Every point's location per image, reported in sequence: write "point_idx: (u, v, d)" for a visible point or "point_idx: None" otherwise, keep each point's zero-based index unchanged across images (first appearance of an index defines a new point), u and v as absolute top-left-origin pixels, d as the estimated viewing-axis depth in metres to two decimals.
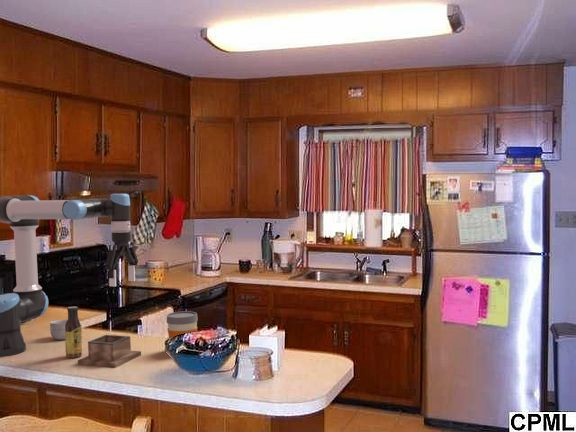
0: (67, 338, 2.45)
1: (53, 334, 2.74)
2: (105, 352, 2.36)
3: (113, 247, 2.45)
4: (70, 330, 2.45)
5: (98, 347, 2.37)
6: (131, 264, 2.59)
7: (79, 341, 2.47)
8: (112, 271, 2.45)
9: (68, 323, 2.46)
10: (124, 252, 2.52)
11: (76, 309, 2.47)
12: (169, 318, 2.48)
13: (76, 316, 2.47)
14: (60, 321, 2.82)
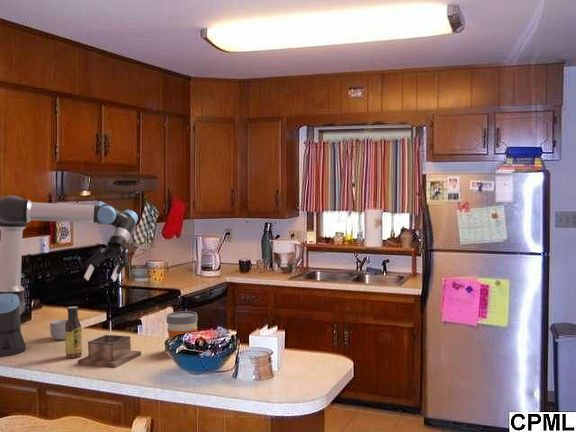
0: (67, 338, 2.45)
1: (53, 334, 2.74)
2: (105, 352, 2.36)
3: (127, 251, 2.71)
4: (71, 330, 2.45)
5: (98, 347, 2.37)
6: (91, 265, 2.70)
7: (79, 341, 2.47)
8: None
9: (68, 323, 2.46)
10: None
11: (76, 309, 2.47)
12: (169, 318, 2.48)
13: (76, 316, 2.47)
14: (60, 321, 2.82)
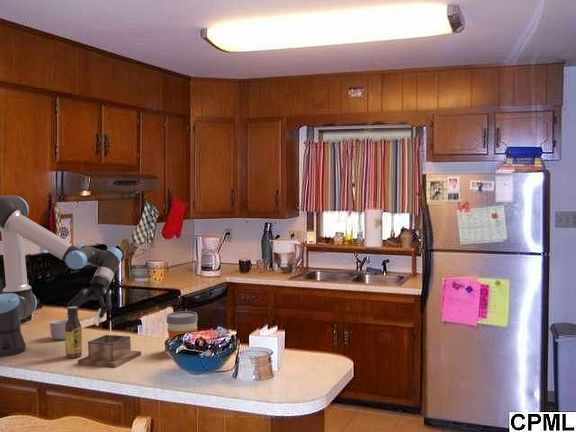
0: (67, 338, 2.45)
1: (53, 334, 2.74)
2: (105, 352, 2.36)
3: (111, 292, 2.58)
4: (71, 330, 2.45)
5: (98, 347, 2.37)
6: None
7: (79, 341, 2.47)
8: None
9: (68, 323, 2.46)
10: None
11: (76, 309, 2.47)
12: (169, 318, 2.48)
13: (76, 316, 2.47)
14: (60, 321, 2.82)
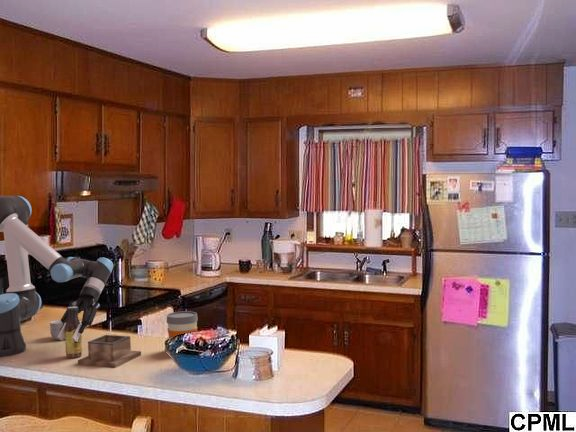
0: (67, 338, 2.45)
1: (53, 334, 2.74)
2: (105, 352, 2.36)
3: (98, 307, 2.53)
4: (71, 330, 2.45)
5: (98, 347, 2.37)
6: None
7: (79, 341, 2.47)
8: None
9: (68, 323, 2.45)
10: None
11: (76, 309, 2.47)
12: (169, 318, 2.48)
13: (76, 316, 2.47)
14: (60, 321, 2.82)
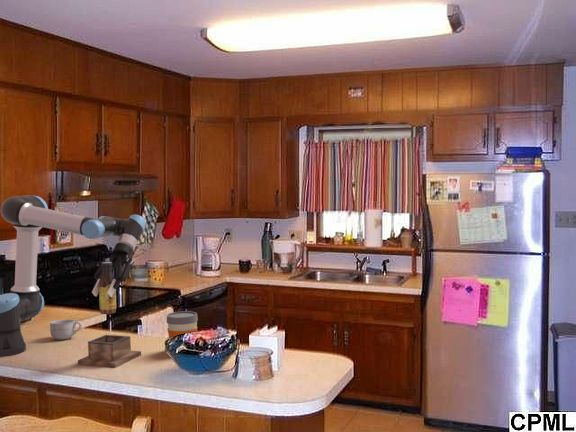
0: (101, 294, 2.39)
1: (53, 334, 2.74)
2: (105, 352, 2.36)
3: (132, 263, 2.46)
4: (105, 285, 2.38)
5: (98, 347, 2.37)
6: None
7: (114, 297, 2.40)
8: None
9: (102, 278, 2.39)
10: None
11: (110, 264, 2.40)
12: (169, 318, 2.48)
13: (110, 271, 2.40)
14: (60, 321, 2.82)
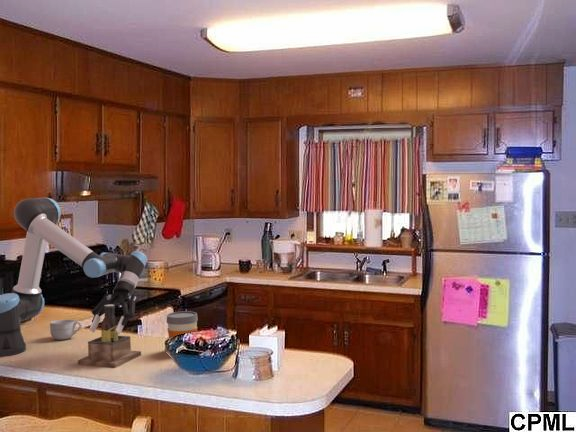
0: (103, 337, 2.39)
1: (53, 334, 2.74)
2: (105, 352, 2.36)
3: (135, 299, 2.47)
4: (107, 328, 2.39)
5: (98, 347, 2.37)
6: None
7: (116, 340, 2.41)
8: None
9: (105, 321, 2.40)
10: None
11: (113, 307, 2.41)
12: (169, 318, 2.48)
13: (113, 314, 2.41)
14: (60, 321, 2.82)
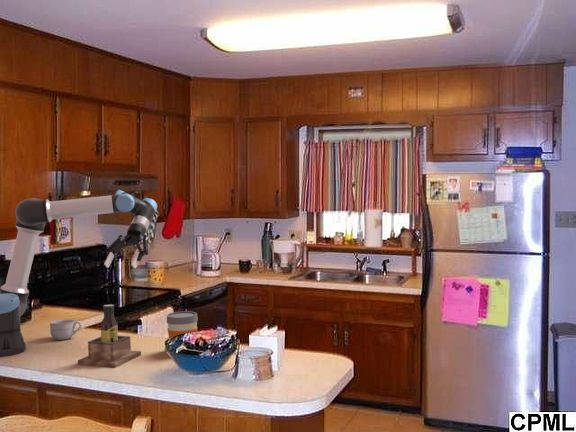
0: (103, 337, 2.40)
1: (53, 334, 2.74)
2: (105, 352, 2.36)
3: (147, 239, 2.70)
4: (107, 328, 2.39)
5: (98, 347, 2.37)
6: None
7: (115, 340, 2.41)
8: None
9: (104, 321, 2.40)
10: None
11: (112, 307, 2.41)
12: (169, 318, 2.48)
13: (112, 314, 2.41)
14: (60, 321, 2.82)
